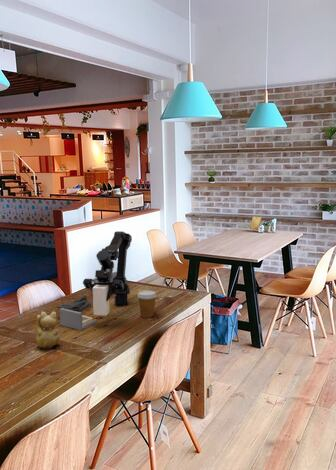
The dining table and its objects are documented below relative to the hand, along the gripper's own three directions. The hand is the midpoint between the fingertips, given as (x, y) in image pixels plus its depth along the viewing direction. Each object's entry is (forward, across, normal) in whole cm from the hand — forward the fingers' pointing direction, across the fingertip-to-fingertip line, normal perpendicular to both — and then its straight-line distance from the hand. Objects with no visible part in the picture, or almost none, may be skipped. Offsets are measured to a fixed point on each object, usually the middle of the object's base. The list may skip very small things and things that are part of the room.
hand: (100, 300), depth 196 cm
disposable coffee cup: (-4, +18, +23) cm, 30 cm away
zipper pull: (-4, -21, +24) cm, 32 cm away
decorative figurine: (+26, -16, -7) cm, 31 cm away
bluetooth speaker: (-31, -16, +51) cm, 61 cm away
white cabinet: (+4, 0, +6) cm, 7 cm away
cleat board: (+7, -13, +12) cm, 19 cm away
